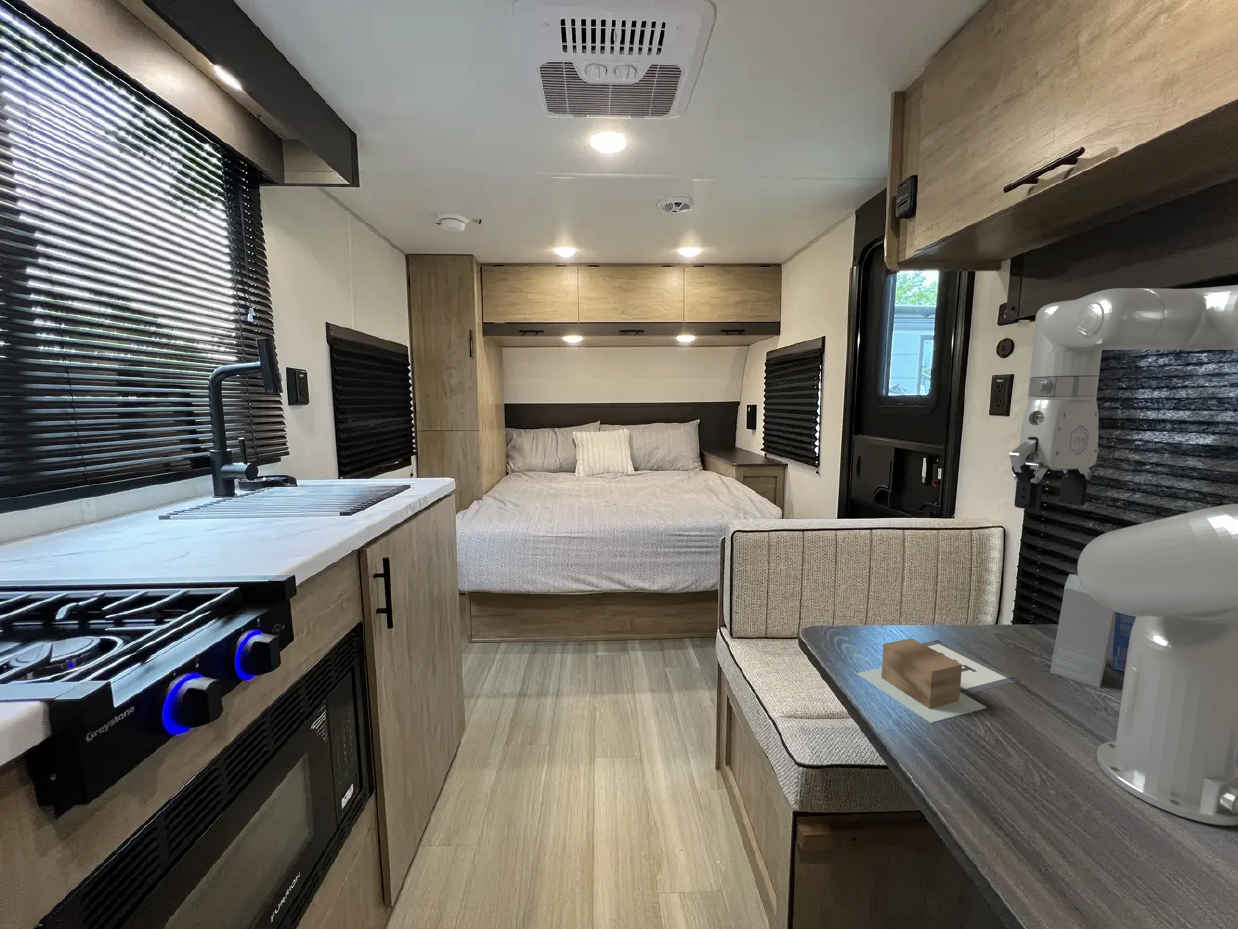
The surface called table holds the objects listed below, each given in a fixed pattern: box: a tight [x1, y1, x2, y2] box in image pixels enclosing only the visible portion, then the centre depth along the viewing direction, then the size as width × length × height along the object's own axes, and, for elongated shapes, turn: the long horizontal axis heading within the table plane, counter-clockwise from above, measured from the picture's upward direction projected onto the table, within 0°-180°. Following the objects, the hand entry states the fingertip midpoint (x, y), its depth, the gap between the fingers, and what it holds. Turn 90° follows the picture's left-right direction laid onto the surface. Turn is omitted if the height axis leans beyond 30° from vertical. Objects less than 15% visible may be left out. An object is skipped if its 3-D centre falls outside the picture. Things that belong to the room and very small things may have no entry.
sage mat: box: [857, 667, 987, 724], centre depth 82 cm, size 14×11×1 cm
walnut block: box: [881, 637, 962, 709], centre depth 81 cm, size 9×6×6 cm, turn 18°
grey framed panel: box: [921, 639, 1020, 696], centre depth 89 cm, size 15×12×1 cm
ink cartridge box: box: [1110, 612, 1136, 673], centre depth 88 cm, size 10×6×14 cm, turn 135°
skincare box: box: [1050, 573, 1116, 688], centre depth 85 cm, size 8×7×16 cm
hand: (1049, 506), depth 76 cm, fingers open, 9 cm apart
